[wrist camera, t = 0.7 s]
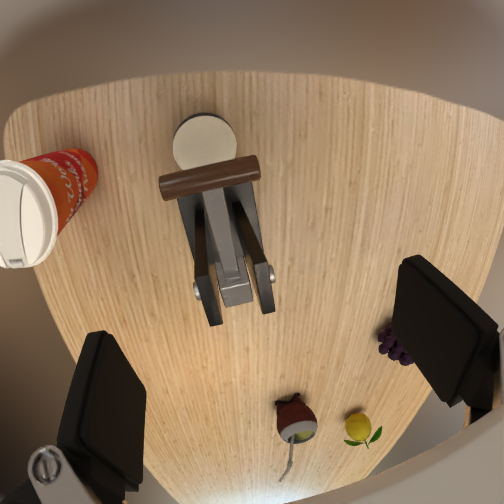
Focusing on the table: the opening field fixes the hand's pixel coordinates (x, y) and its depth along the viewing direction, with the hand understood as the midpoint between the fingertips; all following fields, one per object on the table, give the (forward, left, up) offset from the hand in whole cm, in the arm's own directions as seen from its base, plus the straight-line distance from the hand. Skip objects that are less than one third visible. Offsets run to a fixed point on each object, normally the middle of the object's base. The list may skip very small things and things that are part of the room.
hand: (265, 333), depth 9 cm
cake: (-3, -1, -26) cm, 26 cm away
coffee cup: (-4, -15, -26) cm, 30 cm away
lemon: (+56, +17, -26) cm, 64 cm away
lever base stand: (+6, -1, -26) cm, 26 cm away
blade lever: (+1, -1, -12) cm, 12 cm away
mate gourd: (+44, +3, -26) cm, 51 cm away
